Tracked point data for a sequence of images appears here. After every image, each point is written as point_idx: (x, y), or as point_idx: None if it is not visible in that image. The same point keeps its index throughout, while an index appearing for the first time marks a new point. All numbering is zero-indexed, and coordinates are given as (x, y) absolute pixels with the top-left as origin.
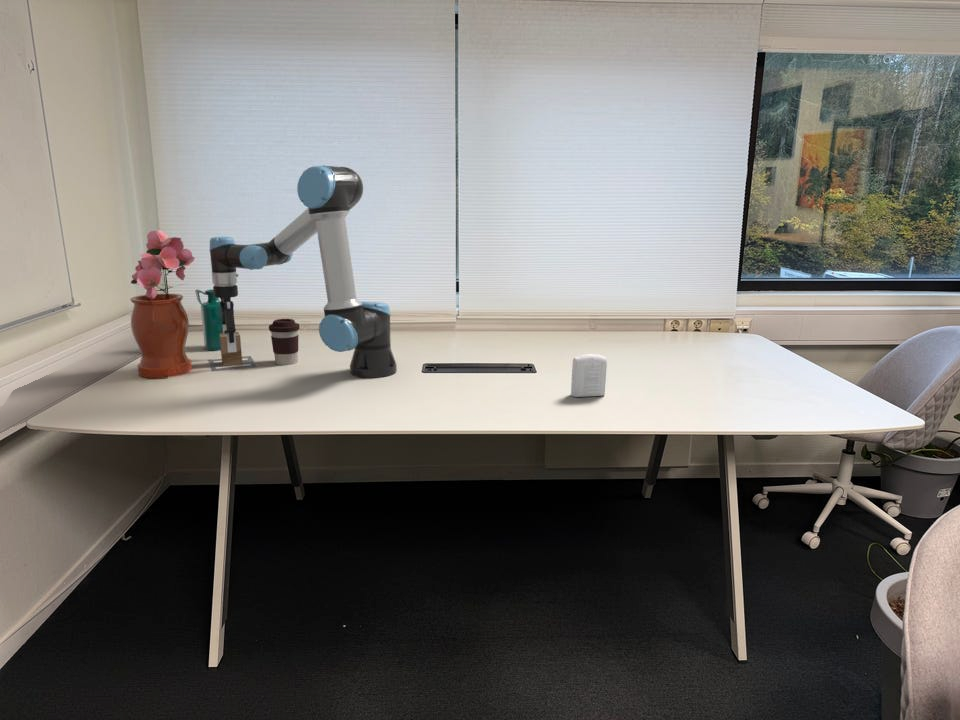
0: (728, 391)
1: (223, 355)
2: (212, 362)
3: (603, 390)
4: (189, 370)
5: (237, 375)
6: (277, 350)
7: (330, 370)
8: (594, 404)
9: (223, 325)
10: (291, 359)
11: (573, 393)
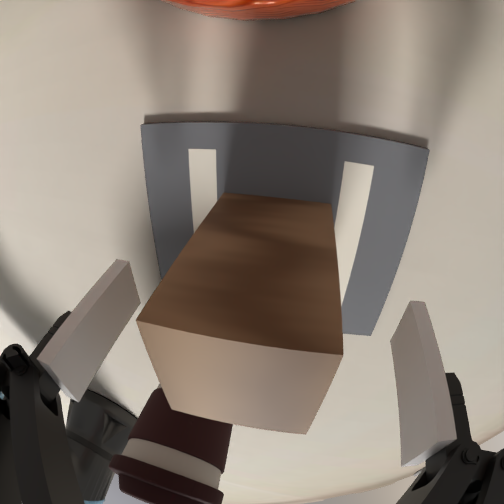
0: None
1: (202, 227)
2: (353, 154)
3: None
4: (188, 10)
5: (84, 220)
6: (153, 398)
7: (119, 390)
8: None
9: (433, 439)
10: None
11: None
